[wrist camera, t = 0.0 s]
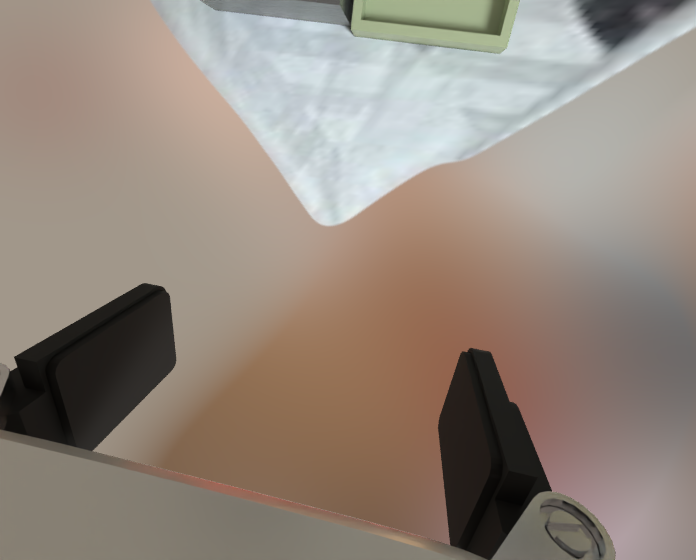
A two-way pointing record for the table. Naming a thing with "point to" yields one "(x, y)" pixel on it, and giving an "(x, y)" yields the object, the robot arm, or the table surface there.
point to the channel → (291, 9)
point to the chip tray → (437, 22)
